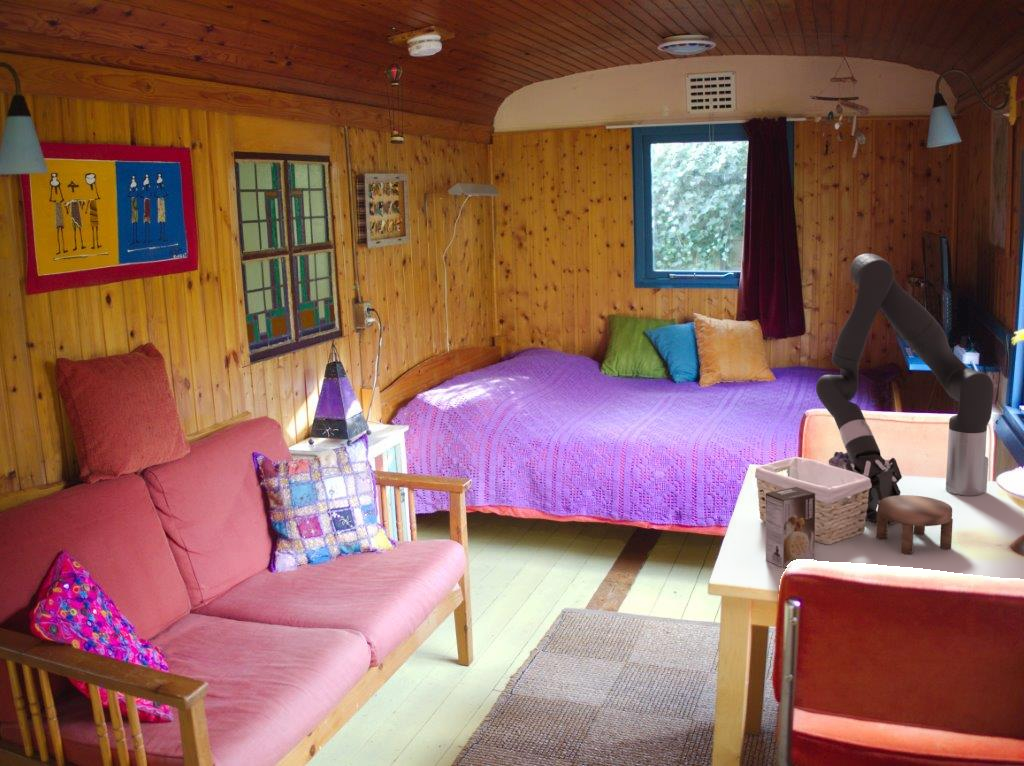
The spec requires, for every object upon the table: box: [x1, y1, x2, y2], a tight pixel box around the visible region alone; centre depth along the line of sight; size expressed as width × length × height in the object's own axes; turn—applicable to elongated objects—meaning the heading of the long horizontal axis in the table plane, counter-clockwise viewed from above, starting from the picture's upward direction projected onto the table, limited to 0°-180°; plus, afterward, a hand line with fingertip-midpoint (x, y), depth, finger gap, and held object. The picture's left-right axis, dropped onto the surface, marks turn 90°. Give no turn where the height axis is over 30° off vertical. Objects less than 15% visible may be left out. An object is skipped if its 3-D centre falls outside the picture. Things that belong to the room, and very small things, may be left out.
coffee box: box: [765, 487, 816, 569], centre depth 221 cm, size 9×6×16 cm
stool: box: [875, 494, 954, 556], centre depth 229 cm, size 16×16×9 cm
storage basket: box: [754, 456, 872, 545], centre depth 241 cm, size 24×16×15 cm
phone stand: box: [865, 469, 895, 526], centre depth 244 cm, size 9×6×12 cm, turn 40°
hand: (883, 499), depth 242 cm, fingers closed on phone stand, 6 cm apart
